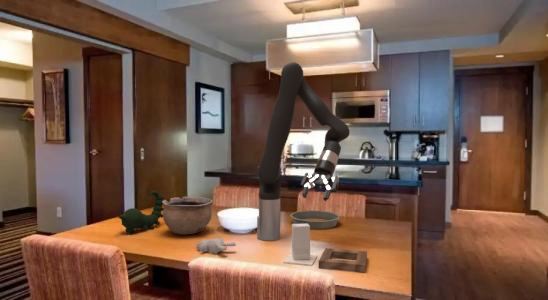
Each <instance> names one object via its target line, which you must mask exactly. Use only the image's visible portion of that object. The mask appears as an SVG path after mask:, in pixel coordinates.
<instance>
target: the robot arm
mask: <svg viewBox="0 0 548 300" xmlns="http://www.w3.org/2000/svg"><path fill="white" fill-rule="evenodd" d="M280 74H281V75H280V84H279V88H278V89H279V91H278V95H277V97H276V100H275V102H274V103H275V104H274V106H273V109H272V113H271V116H270V119H269V124H268V129H267V134H266V141H265V148H264V152H263V155H262V158H261V161H260V164H259V167H258V169H257V175H258V178H259V188H258V189H259V190H258V215H257V216H256V217H257V219H256V220H257V222H256V225H257V226H256V228H257V229H256V230H257V232H256V236H257V237H256V239H257V240H261V241H272V242H273V241H277V240H280V238H281V191H282V190H281V189H282V188H281V187H282V185H281V184H282V172H281V171H282V170H281V160H282V154H283V151H284V148H285V147H286V144H287V141H288V140H289V139H288V138H289V136H290V132H291V129H292V124H293V120H294V114H295V105H296V97H297V96H298V97H299V98H300V100H301V101H302V103H303V104H304V105H305V107H306V108H307V109H308V110H309V111H308V112H310V113H311V115H312V116H313V117H314V118H315V120H316V121H317V123H319V125H320V126H322V127H325V126H328V127H330V128H329V129H328V130H327V131H326V133H325V137H324V146H323V148H322V151H321V153H320V155H319V157H318V160H317V162H316V165H315V168H314V171H313V172H312V174H309V173H308V172H305V174H304V175H303V178H302V180H301V183H300V185H301V187H302V189H303V190H302V193H301V195H302V197H303V198H304V199H306V198H307V196H308V194H309V190H311V189H312V188H315V187H322V188H324V187H325V188H326V190H325V192H324V194H323V199H322V200H323V201H324V202H327V201H328V200H329V199H330V196H331V194H332V193H337V190H338V187H339V182H340V179H339V176H337V175H336V176H334V174H335V173H334V172H335V170H336V167H337V166H338V165H337V164H338V162H339V161H338V160H339V156H340V154H341V150H342V147H341V146H342V145H340V142H343V141H344V140H346V139H348V138H349V137H350V134H351V133H350V128H349V126H348V125H347V123H346V122H344V121H343V120H342V119H340V118H339V117H338V116H337V115H335V114H334V113H333V112H332V111H331V109H330V108H329V107H328V105H326V103H325V101H323V100H322V98H320V97H319V95H317V93H316V92H315V91H314V90H313V89H312V88H311V87H310V85H309V84H308V83H307V81H306V79H305V77H304V70H303V67H302V66H301V65H300V64H299V63H297V62H294V61H292V62H288V63H287V64H285V65H284V66H283V67H282V69H281V72H280ZM331 182H332V186H330V185H329V184H330V183H331Z"/></svg>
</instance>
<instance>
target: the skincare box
mask: <svg viewBox="0 0 548 300" xmlns="http://www.w3.org/2000/svg"><path fill="white" fill-rule="evenodd" d="M291 247H292V249H291V250H292V251H291V253H292V256H293V259H294V260H304V259H310V255H311V229H310V226H309V225H308V224H294V223H292V224H291Z"/></svg>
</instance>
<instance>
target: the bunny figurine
mask: <svg viewBox="0 0 548 300" xmlns="http://www.w3.org/2000/svg"><path fill="white" fill-rule="evenodd" d="M195 246H196V247H195V248H196V249H198V251H199V252H200V253H201V252H204V253H207V252H208V253H210V254H211V255H212V254H215V255H218V253H222V252H223V251H226V250H227V249H228V248H227V247H236V246H237V245H236V242H225V241H224V239H223V238H221V237H215V238H211V239H210V238H206V239H203V240H202V241H199V242H198V243H196V244H195Z"/></svg>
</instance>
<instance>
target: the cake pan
mask: <svg viewBox="0 0 548 300" xmlns="http://www.w3.org/2000/svg"><path fill="white" fill-rule="evenodd" d="M289 216H290V218H292V221H293V224H308V225H309V226H310V230H323V229H325V228H326V229H331V228H334V227H336V226H337V222H338V220H339V219H340V218H341V216H340V215H339V214H337V213H335V212H331V211H326V210H300V211H299V210H298V211H296V212H295V211H294V212H292V213H291V214H290V215H289ZM309 219H323V220H328V221H309ZM326 229H325V230H326Z"/></svg>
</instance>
